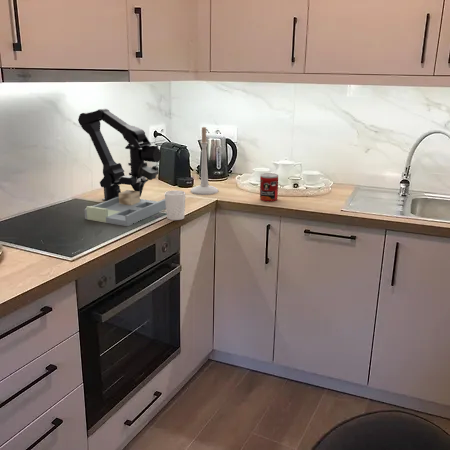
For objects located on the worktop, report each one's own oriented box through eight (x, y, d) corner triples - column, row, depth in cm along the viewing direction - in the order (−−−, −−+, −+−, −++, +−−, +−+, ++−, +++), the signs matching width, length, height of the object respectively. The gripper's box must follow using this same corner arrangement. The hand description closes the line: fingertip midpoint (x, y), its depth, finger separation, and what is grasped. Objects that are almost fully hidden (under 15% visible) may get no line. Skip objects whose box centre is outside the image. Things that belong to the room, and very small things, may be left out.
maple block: (119, 203, 208) (118, 192, 207) (128, 200, 213) (127, 189, 212) (131, 205, 206) (130, 194, 204) (139, 201, 211) (139, 191, 209)
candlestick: (219, 188, 242) (218, 124, 233) (217, 195, 230) (217, 128, 221) (192, 187, 243) (191, 124, 234) (189, 194, 231) (188, 127, 222)
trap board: (85, 219, 195) (84, 206, 193) (129, 201, 218) (128, 190, 217) (127, 226, 186) (127, 213, 185) (168, 207, 210) (168, 195, 209)
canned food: (257, 200, 221) (258, 175, 218) (263, 196, 228) (263, 172, 225) (274, 202, 218) (275, 177, 215) (279, 198, 225) (280, 173, 222)
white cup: (180, 221, 192) (179, 196, 189) (161, 219, 194) (160, 194, 191) (189, 216, 199) (188, 191, 196) (170, 214, 201) (170, 189, 198)
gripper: (140, 165, 199) (142, 204, 204) (165, 158, 215) (167, 193, 220) (117, 163, 203) (119, 201, 208) (143, 156, 219) (145, 191, 224)
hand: (139, 196), depth 215 cm, fingers closed
